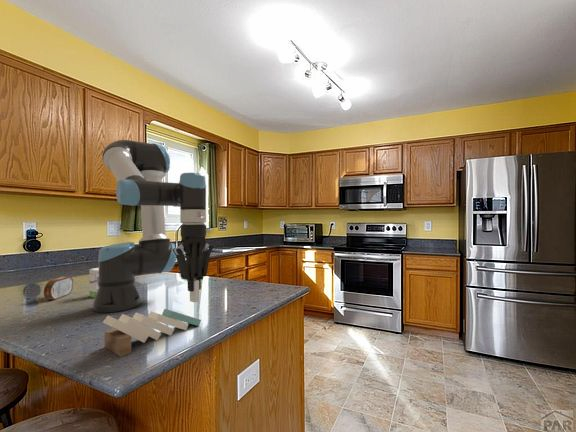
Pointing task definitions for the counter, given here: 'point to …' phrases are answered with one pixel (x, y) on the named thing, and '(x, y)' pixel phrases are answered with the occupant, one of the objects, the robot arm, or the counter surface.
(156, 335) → the ivory domino
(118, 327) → the ivory domino
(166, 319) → the ivory domino
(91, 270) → the ink box
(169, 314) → the teal domino
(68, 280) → the tin
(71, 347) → the counter surface
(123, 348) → the walnut block
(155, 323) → the ivory domino
